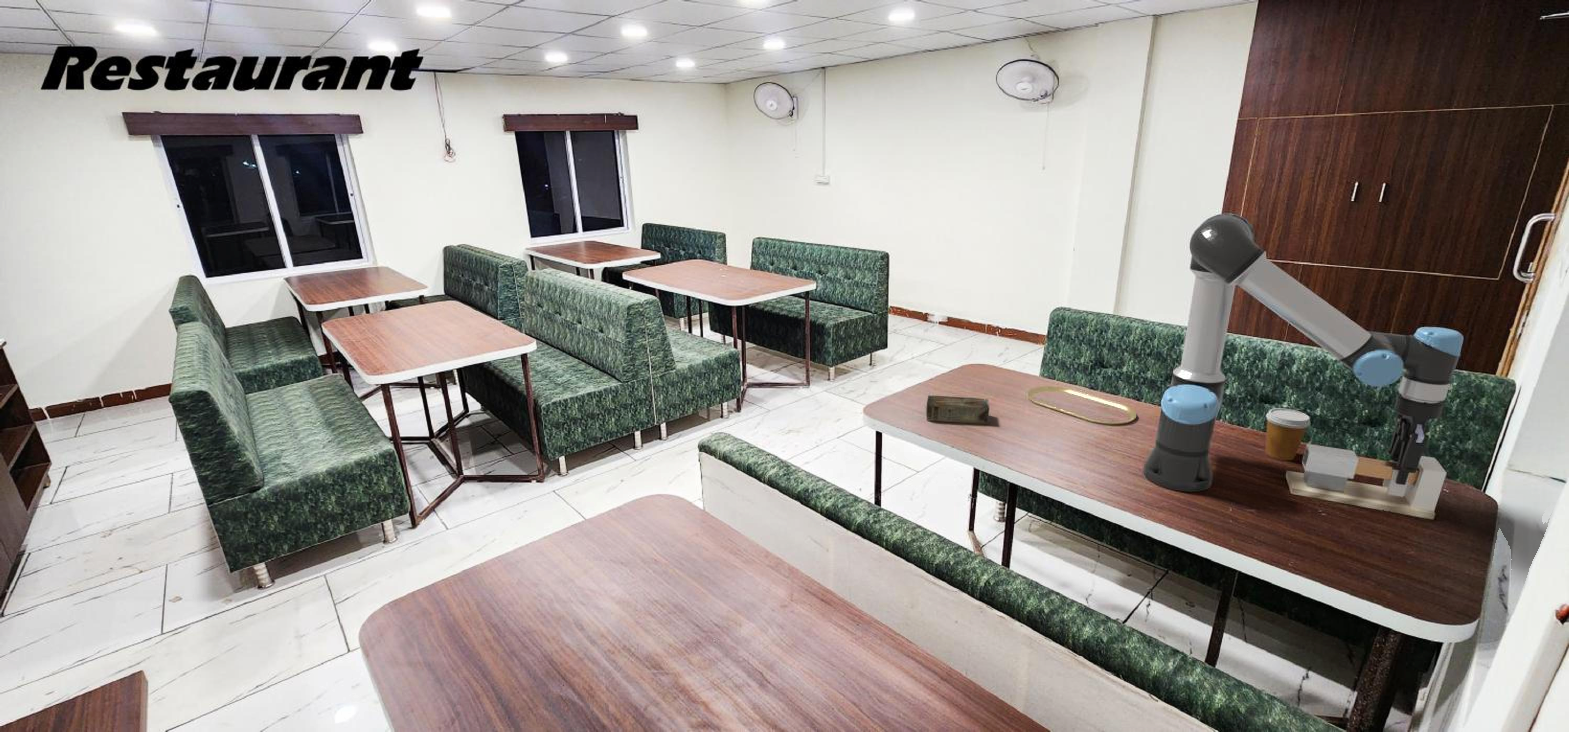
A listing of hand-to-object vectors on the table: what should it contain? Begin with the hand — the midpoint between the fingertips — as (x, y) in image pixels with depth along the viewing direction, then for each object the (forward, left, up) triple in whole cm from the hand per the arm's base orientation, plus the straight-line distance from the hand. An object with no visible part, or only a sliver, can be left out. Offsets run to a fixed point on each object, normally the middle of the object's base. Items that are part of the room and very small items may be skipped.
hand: (1392, 490), depth 150 cm
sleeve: (-12, 0, -2) cm, 13 cm away
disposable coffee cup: (-19, +18, -3) cm, 26 cm away
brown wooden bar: (-3, 0, +3) cm, 5 cm away
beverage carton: (-104, +6, -4) cm, 104 cm away
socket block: (+5, 0, -2) cm, 5 cm away
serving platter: (-71, +32, -4) cm, 78 cm away
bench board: (-6, 0, -3) cm, 7 cm away
